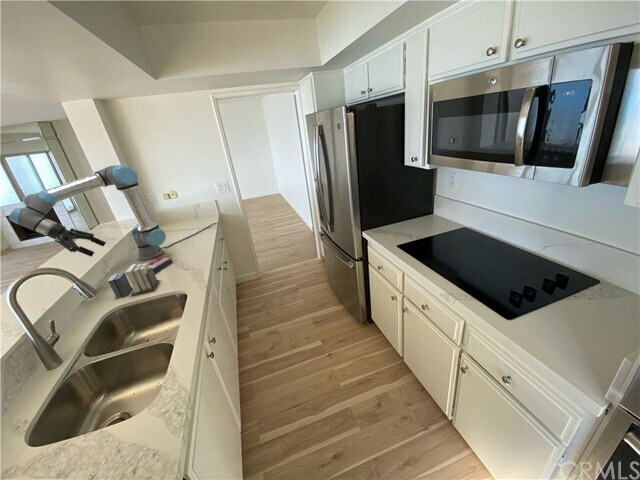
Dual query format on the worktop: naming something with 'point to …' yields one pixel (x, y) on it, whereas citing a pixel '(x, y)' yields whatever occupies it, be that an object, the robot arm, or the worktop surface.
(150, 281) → the bookstand
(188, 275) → the worktop surface
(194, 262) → the worktop surface
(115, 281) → the grey books
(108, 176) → the robot arm
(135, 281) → the white book
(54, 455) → the worktop surface
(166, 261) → the red and white box
